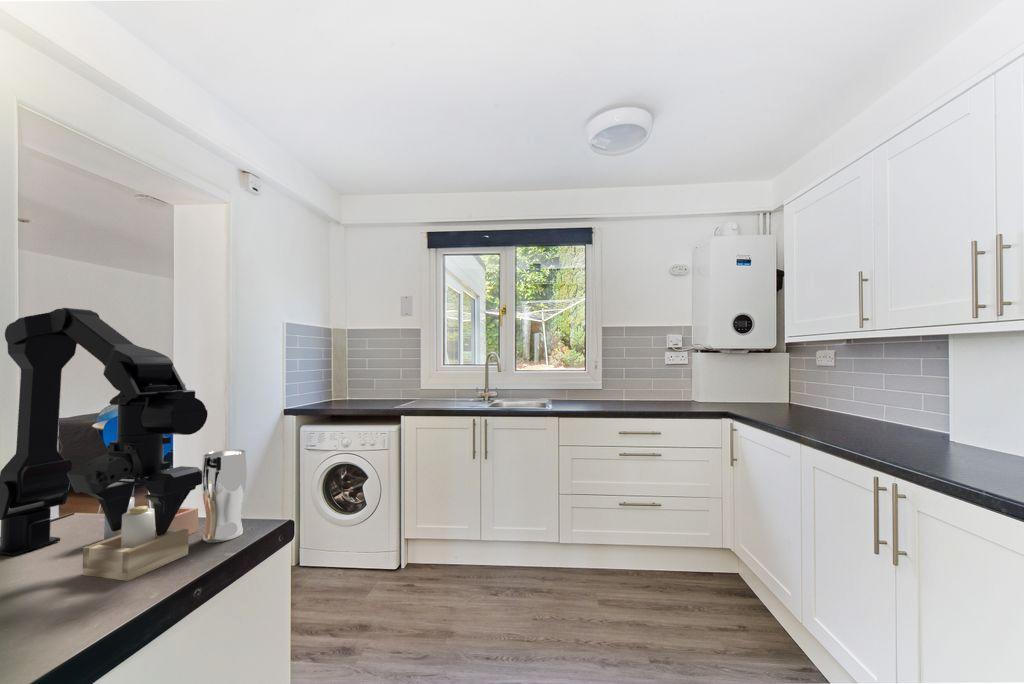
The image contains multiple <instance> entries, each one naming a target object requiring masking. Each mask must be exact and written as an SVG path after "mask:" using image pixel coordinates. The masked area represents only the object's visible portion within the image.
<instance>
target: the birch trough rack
mask: <svg viewBox="0 0 1024 684" xmlns="http://www.w3.org/2000/svg"><path fill="white" fill-rule="evenodd" d="M189 538H190V537H189V529H178V528H168V530H167V532H166V533H165V534H164V535H161V536H157V533H156V527H155V540H153V541H150V542H147V543H145V544H142V545H140V546H137V547H134V548H123V547H121V535H118V536H115V537H112V538H109V539H106V540H104V539H103V540H101V541H98V542H95V543H91V544H89V545H87V546H84V547H82V576H87V577H88V576H90V577H97V578H102V579H103V578H104V579H111V580H118V581H119V580H120V581H125V582H129V581H131V580H133V579H136V578H138V577H140V576H143V575H145V574H147V573H149V572H152V571H153V570H156V569H158V568H161V567H162V566H165V565H167V564H169V563H171V562H173V561H176V560H178V559H181V558H183V557H185V556H187V555H189Z"/></svg>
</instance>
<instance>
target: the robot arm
mask: <svg viewBox="0 0 1024 684" xmlns="http://www.w3.org/2000/svg"><path fill="white" fill-rule="evenodd" d="M4 338H5V341H6V343H7V354H8V355H9V357H10V358H11V359H12V360H13V361H14V363H15V364H16V365H17V367H18V368H20V381H19V382H20V383H19V400H18V414H17V429H16V430H17V432H16V434H17V435H16V449H15V454H14V455H13V456H12V458H10V460H9V461H8V462H7V463H6V464H5V466H4V467H3V468H2V469H1V470H0V555H4V556H16V555H20V554H23V553H26V552H29V551H32V550H34V549H38V548H41V547H45V546H47V545H48V546H49V545H50V544H54V543H57V542H60V541H61V537H59V536H51V525H52V524H51V523H52V522H51V520H52V519H51V512H52V511H51V510H52V509H51V508H53V507H58V506H63V505H66V502H67V499H68V496H69V493H70V489H71V486H72V489H73V491H74V493H76V494H79V493H83V494H85V495H88V496H91V497H93V498H95V499H96V500H97V501H98V502H99V504H100V506H101V508H102V512H103V513H104V517H105V516H106V518H107V521H108V523H109V526H110V528H111V530H112V531H113V532H115V531H118V530H120V529H121V528H122V515H123V514H125V513H127V509H128V506H129V502H130V499H131V497H132V494H133V491H134V488H135V484H139V485H141V484H142V485H145V488H146V491H148V493H149V494H146V495H144V497H145V498H146V499H148V500H149V501H150V502H151V503H153V509H154V513H155V527H156V533H157V536H161V535H164V534H165V533H166V532H167V530H168V528H169V526H170V525H171V523H172V521H173V519H174V517H175V515H176V514H177V512H178V510H179V508H180V507H182V505H183V503H184V502H185V500H186V499H187V497H188V495H189V494H190V493H191V491H195V490H196V489H197V486H201V484H202V469H200V468H199V467H198V466H183V465H181V466H176V467H173V468H172V467H171V462H170V461H164V458H165V457H164V453H165V452H164V449H165V447H164V446H165V445H167V444H168V445H169V444H171V442H172V441H171V440H172V437H171V436H165V435H182V436H183V435H184V436H186V435H187V436H190V435H193V434H196V433H198V432H199V431H200V430H201V429H202V428H203V427H204V425H205V424H206V422H207V420H208V409H206V405H205V403H203V401H202V400H200V399H199V398H196V391H195V390H194V389H187V387H186V384H185V383H184V381H183V380H182V378H181V377H180V375H179V373H178V371H177V369H176V367H175V366H174V363H173V360H172V359H171V358H170V357H169V356H167V355H165V354H163V353H162V352H159V351H156V350H153V349H150V348H146V347H141V346H138V345H136V344H134V343H133V342H131V340H129V339H128V338H127V337H125V336H123V335H122V334H121V333H120V332H119V331H117V330H116V329H115V328H113V327H112V326H111V325H109V324H108V323H107V322H105V321H104V320H103V319H101V317H100V315H99V314H98V312H95V311H92V309H81V308H71V307H62V308H56V309H54V310H52V311H50V312H49V311H48V312H44V313H39V314H32V315H27V316H23V317H20V318H19V317H18V318H17V319H16V320H15V321H13V322H10V323H9V324H8V325H7V326H6V328H5V331H4ZM78 345H79V346H81V348H83V349H84V350H86V351H87V352H88V353H89V354H90V355H92V356H93V357H94V358H95V359H97V360H98V361H99V362H100V363H102V365H103V366H104V369H103V373H102V374H103V376H104V377H105V379H106V380H107V381H108V382H109V383H110V385H111V386H112V387H113V388H114V389H115V390H116V391H119V393H118V394H117V395H115V396H113V397H112V398H111V399H110V400H109V401H108V402H109V405H111V406H117V427H116V428H117V431H116V441H110V442H109V444H108V445H107V446H106V453H105V454H103V455H100V456H97V457H95V458H93V459H92V458H91V460H89V461H87V462H83V464H81V465H78V466H76V467H74V468H73V467H72V466H73V462H72V461H71V459H66V458H65V457H64V456H63V455H62V454H61V453H60V451H59V449H58V442H59V441H58V440H59V425H60V423H59V422H60V407H61V388H62V386H61V385H62V372H63V368H64V367H66V365H67V364H68V362H70V361H71V359H73V357H74V356H75V355H76V352H77V346H78ZM72 468H73V469H72Z"/></svg>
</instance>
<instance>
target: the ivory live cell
mask: <svg viewBox="0 0 1024 684" xmlns="http://www.w3.org/2000/svg"><path fill="white" fill-rule="evenodd" d="M153 540H155V513H154V507H153V508H152V507H151V508H149V506H148V505H139V506H134V508H131V509H130V512H127V513H125V514H123V515H122V532H121V547H123V548H134V547H137V546H140V545H142V544H145V543H147V542H150V541H153Z"/></svg>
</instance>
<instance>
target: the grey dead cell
mask: <svg viewBox="0 0 1024 684" xmlns="http://www.w3.org/2000/svg"><path fill="white" fill-rule="evenodd" d="M134 507H135V497H134V496H131V499H130V502H129V506H128V509H127V512H130V509H131V508H134ZM103 524H104V527H103V541H104V540H106V539H109V538H112V537H115V536H118V531H115V532H113V531H112V530H111V528H110V526H109V523H108V521H107V518H106V516H105V515H104V523H103Z"/></svg>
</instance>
